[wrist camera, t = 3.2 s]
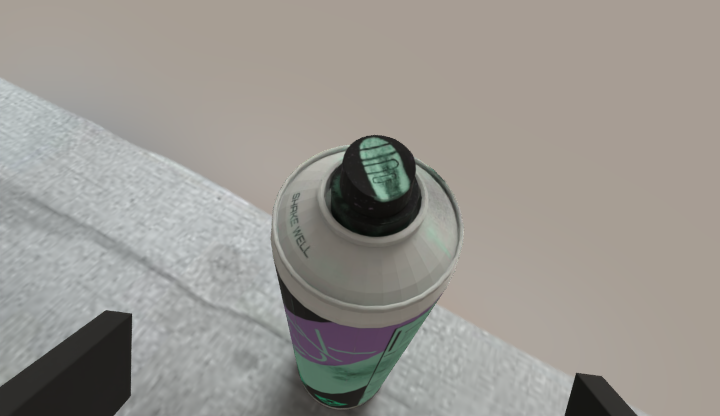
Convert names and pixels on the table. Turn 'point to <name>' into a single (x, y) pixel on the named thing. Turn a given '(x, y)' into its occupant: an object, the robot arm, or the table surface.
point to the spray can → (361, 262)
